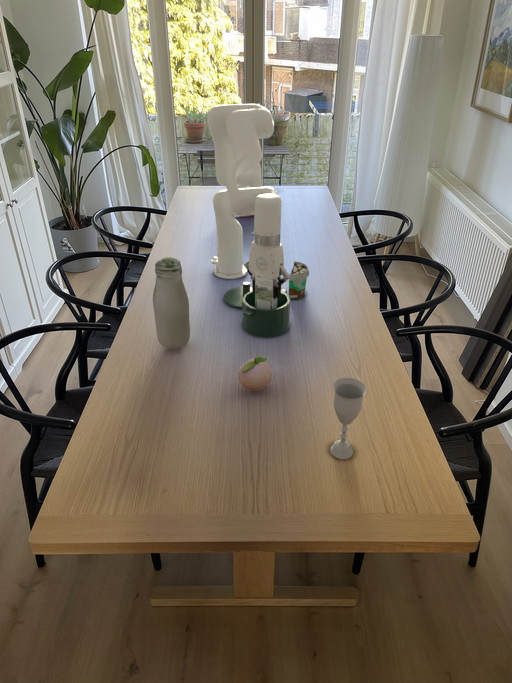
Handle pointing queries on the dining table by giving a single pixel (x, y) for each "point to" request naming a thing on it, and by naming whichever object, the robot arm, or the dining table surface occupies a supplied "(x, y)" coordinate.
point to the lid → (237, 295)
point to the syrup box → (264, 292)
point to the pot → (266, 316)
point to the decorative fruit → (255, 374)
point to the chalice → (346, 411)
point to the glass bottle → (171, 304)
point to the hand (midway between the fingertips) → (266, 293)
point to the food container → (298, 280)
